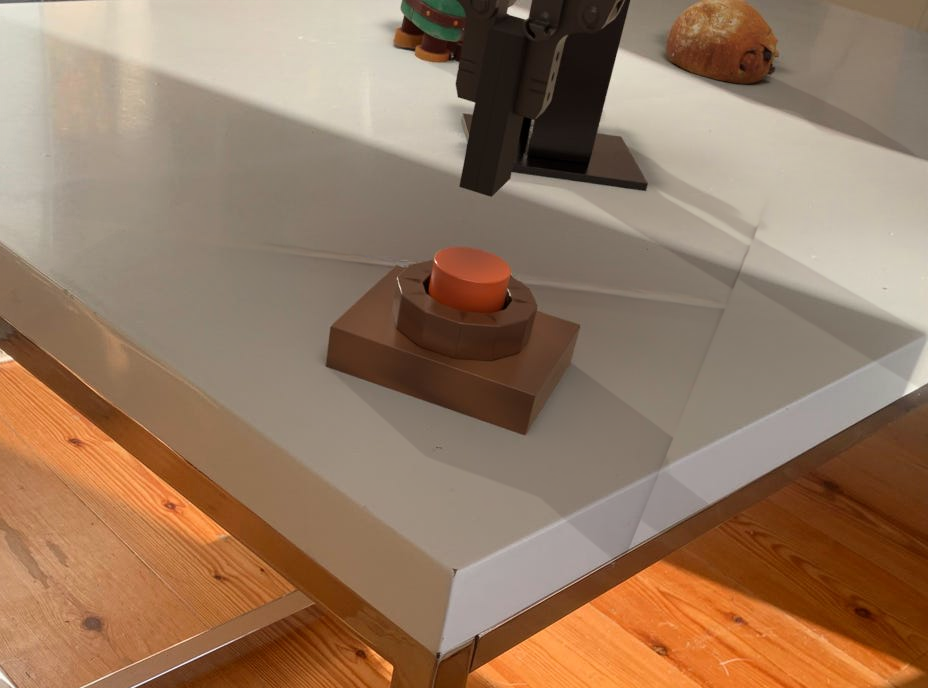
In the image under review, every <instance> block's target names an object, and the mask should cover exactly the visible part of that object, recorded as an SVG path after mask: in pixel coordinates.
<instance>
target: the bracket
mask: <svg viewBox="0 0 928 688" xmlns="http://www.w3.org/2000/svg"><path fill="white" fill-rule="evenodd" d="M630 4H631V0H625V2H624V4H623V6H622V8H621V10H620V12H619V14H618V15H617V16H616V18H615V19H614V20H612V21H611V22H610V23H609V24H607V25H606V26H605V27H603V28H602V29H601V30H599V31H597V32H596V33H587V32H582V33H573V34H569V35H568V36H567V38H566V40H565V43H564V47H563V51H562V56H561V60H560V65H559V69H558V73H557V77H556V82H555V86H554V91H553V95H552V99H551V102H550V104H549V105H548V107H547V108H546V110H545V111H544V112H543V113H542V114H541V115H540V116H539V117H538V118H536V119H535V120H533V119H529V118H526V117H524V118H523V122H522V127H521V132H520V136H519V141H518V146H517V150H516V155H515V160H514V164H513V169H512V173H514V174H522V175H527V176H535V177H541V178H542V177H543V178H550V179H558V180H565V181H571V182H579V183H585V184H594V185H599V186H607V187H615V188H621V189H628V190H635V191H641V192H642V191H643V192H646V191H647V189H648V186H649V183H648V181H647V179H646V177H645V176H644V173H643V172H642V170H641V168H640V167H639V165H638V163H637V161H636V159H635V158H634V156H633V154H632V153H631V151H630V149H629V148H628V146H627V144H626V141H625V140H624V138H623V137H622V136H619V135H614V134H613V135H612V134H605V133H600V132H598V131H599V126H600V122H601V118H602V115H603V112H604V111H603V110H604V107H605V103H606V99H607V95H608V91H609V88H610V87H609V86H610V84H611V79H612V75H613V70H614V67H615V63H616V59H617V55H618V51H619V47H620V44H621V39H622V36H623V31H624V27H625V24H626V20H627V15H628V12H629V7H630ZM472 117H473V113H472V114H471V113H462V116H461V124H462V127H463V131H464V135H465V139H466V142H467V143H468V138H469V133H470V127H471V122H472ZM467 143H466V144H467Z"/></svg>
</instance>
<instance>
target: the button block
mask: <svg viewBox="0 0 928 688" xmlns="http://www.w3.org/2000/svg"><path fill="white" fill-rule="evenodd" d="M433 261H434V259H430V260H425V261H420V262H416V263H411V264H409V265H408V266H407V267H404V266H400V265H397V264H395V265H394V266H393V267H392V268H391V269H390V270H389V271H388V272H387V273H386V274H385V275H384V276H383V277H381V278H380V280H378V281H377V282H376V283H375V284H374V285H373V286H372V287H370V288H369V290H368V291H366V292H365V293H364V294H363V295H362V296H361V297H360V298H359V299H358V300H356V301H355V302H354V303H353V304H352V306H350V307H349V308H348V309H347V310H346V311H345V312H344V313H343V314H342V315H340V316H339V317H338V319H336V320H335V321H334V322H333V323H332V324H331V325H330V327H329V334H328V344H327V351H326V359H325V360H326V361H325V367H326V368H329V369H331V370H334V371H337V372H339V373H343V374H346V375H348V376H352V377H355V378H357V379H360V380H364V381H366V382H369V383H372V384H375V385H378V386H380V387H383V388H386V389H389V390H392V391H395V392H398V393H400V394H404V395H406V396H409V397H412V398H415V399H418V400H421V401H424V402H427V403H430V404H431V405H432V404H433V405H435V406H439V407H441V408H443V409H447V410H450V411H452V412H456V413H459V414H462V415H464V416H467V417H469V418H472V419H476V420H479V421H481V422H485V423H487V424H490V425H493V426H496V427H499V428H502V429H505V430H507V431H511V432H514V433H517V434H518V435H523V436H527V434H528V432H529V431H530V429H531V427H532V426H533V424H534V423H535V421H536V419H537V418H538V416H539V414H541V411H542V410H543V408H544V407H545V405H546V403H547V402H548V400H549V398H550V397H551V395H552V394H553V392H554V390H555V389H556V387H557V386H558V384H559V382H560V381H561V379H562V377H563V376H564V374H565V372H566V371H567V369H568V367H569V366H570V364H571V362H572V359H573V355H574V352H575V347H576V344H577V340H578V336H579V333H580V331H581V324H579V323H576V322H573V321H570V320H566V319H565V318H560V317H557V316H555V315H551V314H548V313H545V312H543V311H539V310H538V303H537V301H536V299H535V297H534V294H533V292H532V290H531V288H530V287H528V286H527V285H526V284H524V283H522V282H521V281H519V280H518V279H517V278H515V277H513V276H512V275H510V280H509V284H508V289H507V293H506V298H505V302H504V307H503V308H502V310H501V311H497V312H493V313H476V312H463V311H460V310H457V309H454V308H451V307H448V306H445V305H442V304H440V303H439V302H437V301H436V300H435V299H433V298H432V297H430V296H429V292H428V290H429V284H430V278H431V272H432V267H433Z"/></svg>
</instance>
